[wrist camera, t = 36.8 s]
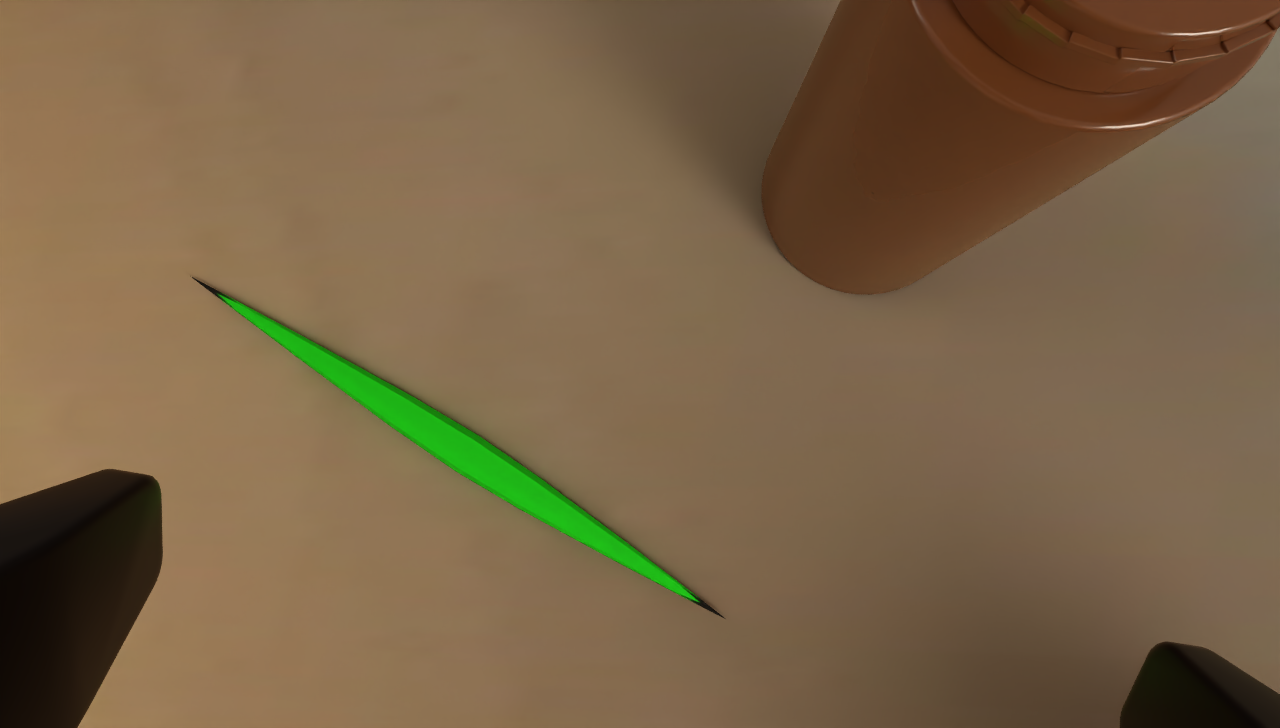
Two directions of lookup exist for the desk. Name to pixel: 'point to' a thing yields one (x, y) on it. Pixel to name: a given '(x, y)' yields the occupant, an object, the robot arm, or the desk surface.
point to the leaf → (462, 450)
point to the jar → (980, 119)
